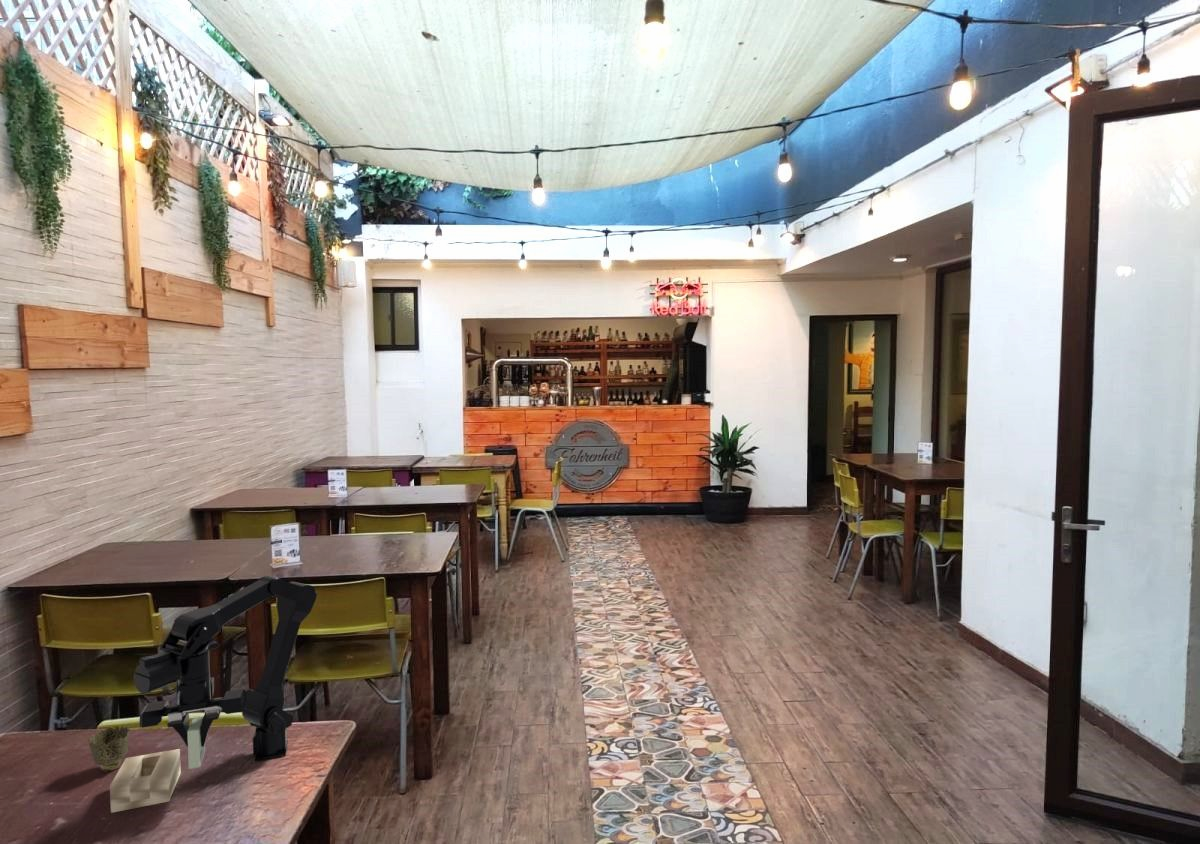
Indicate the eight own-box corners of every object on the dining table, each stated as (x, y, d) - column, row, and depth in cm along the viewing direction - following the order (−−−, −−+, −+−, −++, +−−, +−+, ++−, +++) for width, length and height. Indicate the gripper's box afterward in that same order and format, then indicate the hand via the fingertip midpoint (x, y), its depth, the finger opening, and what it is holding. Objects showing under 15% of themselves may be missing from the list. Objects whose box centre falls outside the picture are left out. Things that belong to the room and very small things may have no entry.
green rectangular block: (205, 752, 144) (204, 716, 144) (200, 767, 139) (198, 729, 138) (194, 754, 143) (193, 718, 143) (188, 769, 138) (187, 731, 137)
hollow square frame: (180, 772, 148) (179, 748, 148) (169, 801, 138) (168, 775, 137) (127, 782, 144) (126, 758, 144) (111, 812, 134) (109, 786, 134)
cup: (109, 779, 145) (107, 743, 145) (81, 775, 147) (79, 740, 147) (139, 760, 153) (138, 726, 152) (112, 757, 154) (111, 723, 154)
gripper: (248, 653, 151) (250, 721, 152) (151, 666, 144) (154, 737, 145) (242, 673, 141) (244, 745, 141) (137, 687, 134) (140, 763, 134)
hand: (196, 746), depth 141 cm, fingers closed on green rectangular block, 2 cm apart
